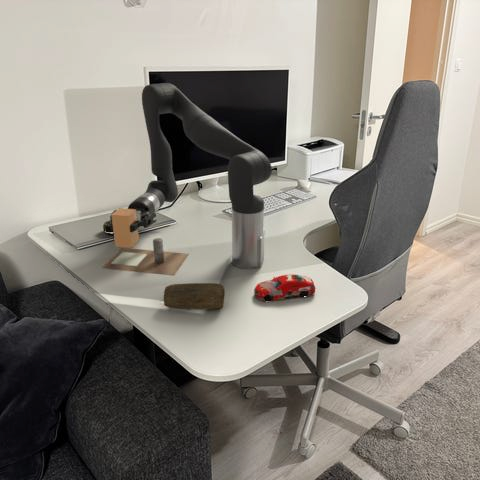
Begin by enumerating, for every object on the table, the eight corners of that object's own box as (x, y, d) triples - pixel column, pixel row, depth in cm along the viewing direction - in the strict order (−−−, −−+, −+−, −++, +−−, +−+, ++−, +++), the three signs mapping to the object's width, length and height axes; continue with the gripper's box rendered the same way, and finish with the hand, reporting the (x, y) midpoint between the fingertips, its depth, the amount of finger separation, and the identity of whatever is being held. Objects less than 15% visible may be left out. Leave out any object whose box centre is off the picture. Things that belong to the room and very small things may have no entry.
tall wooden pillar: (139, 240, 137) (136, 209, 133) (131, 248, 133) (128, 216, 128) (122, 239, 138) (119, 208, 134) (115, 246, 133) (111, 214, 129)
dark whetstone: (224, 299, 120) (224, 276, 117) (224, 313, 113) (224, 290, 110) (167, 300, 119) (165, 277, 116) (163, 315, 113) (162, 291, 110)
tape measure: (125, 235, 158) (123, 225, 156) (104, 237, 156) (103, 227, 154) (123, 227, 164) (122, 218, 162) (103, 230, 162) (102, 220, 160)
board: (189, 258, 141) (188, 232, 138) (174, 280, 129) (172, 252, 125) (122, 251, 145) (119, 227, 142) (102, 272, 133) (98, 245, 129)
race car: (256, 304, 118) (257, 287, 116) (251, 291, 124) (251, 275, 122) (317, 298, 120) (318, 281, 118) (309, 285, 126) (310, 269, 124)
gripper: (122, 194, 145) (96, 214, 130) (165, 198, 143) (144, 218, 128) (124, 216, 148) (99, 238, 133) (166, 220, 146) (146, 242, 131)
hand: (121, 228), depth 130 cm, fingers closed on tall wooden pillar, 5 cm apart
